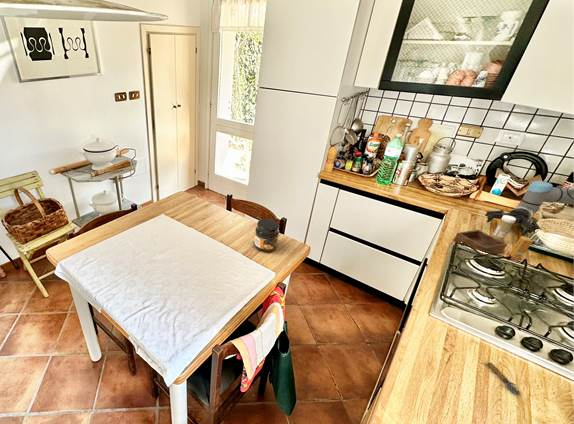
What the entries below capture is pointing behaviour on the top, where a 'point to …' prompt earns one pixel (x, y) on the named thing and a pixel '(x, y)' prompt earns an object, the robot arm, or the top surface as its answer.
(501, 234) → the sprinkles bottle
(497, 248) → the holder
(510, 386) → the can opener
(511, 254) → the supplement box
